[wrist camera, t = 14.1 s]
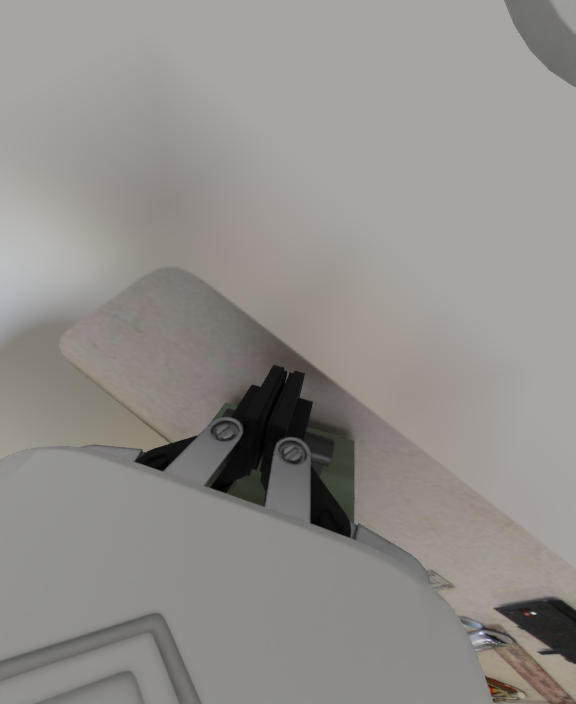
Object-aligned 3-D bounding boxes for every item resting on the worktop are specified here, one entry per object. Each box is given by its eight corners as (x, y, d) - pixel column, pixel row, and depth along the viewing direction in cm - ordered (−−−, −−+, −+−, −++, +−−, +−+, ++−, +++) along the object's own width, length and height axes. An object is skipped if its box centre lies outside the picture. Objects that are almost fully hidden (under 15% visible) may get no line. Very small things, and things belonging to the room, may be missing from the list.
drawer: (227, 357, 18) (148, 439, 11) (372, 397, 16) (385, 519, 10) (221, 497, 26) (175, 592, 20) (316, 531, 25) (301, 645, 18)
